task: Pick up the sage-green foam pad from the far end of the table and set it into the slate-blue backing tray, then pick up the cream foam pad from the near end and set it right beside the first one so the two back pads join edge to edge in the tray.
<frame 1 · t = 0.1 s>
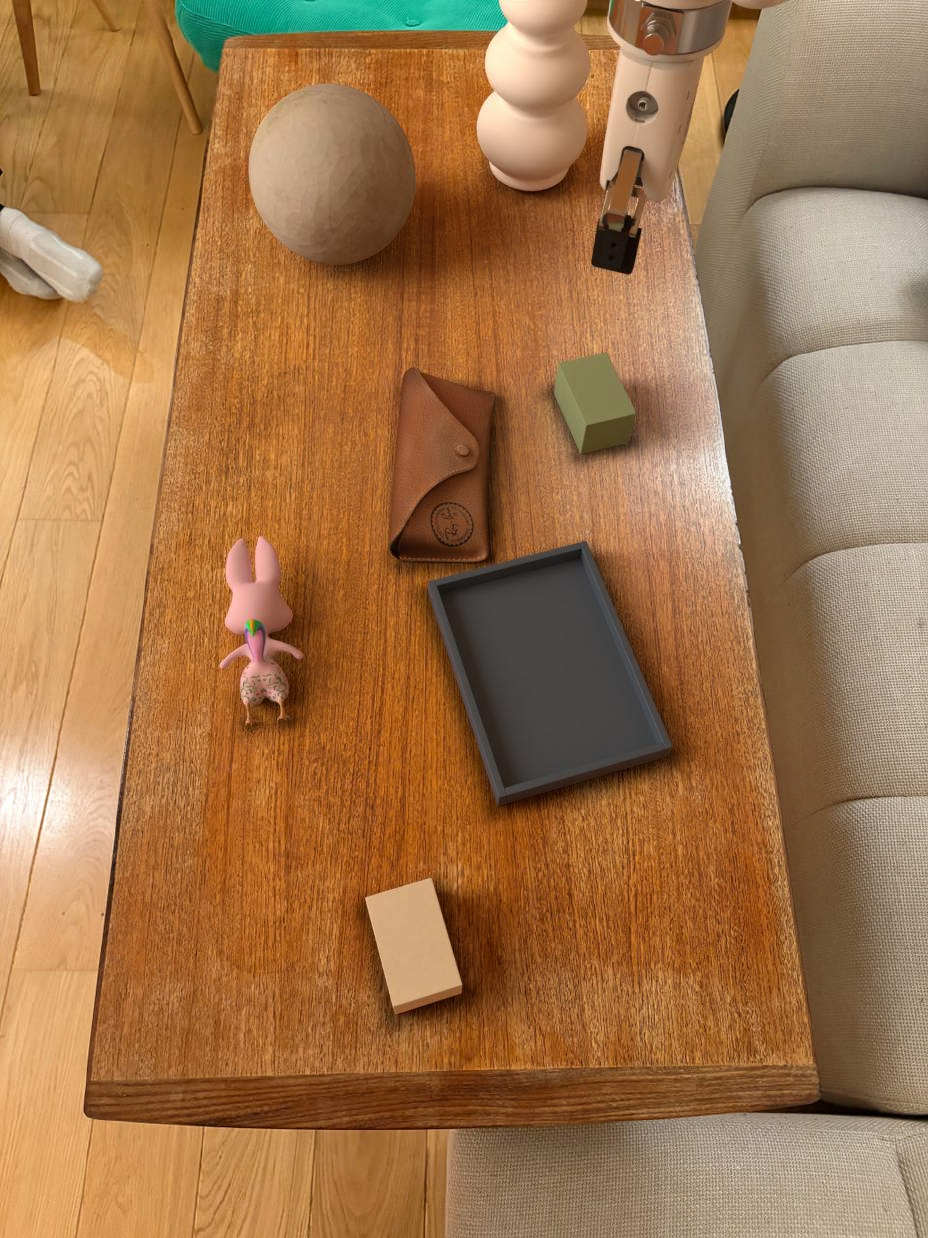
hand: (626, 224, 78), 15 cm above the table, tool pointing down, fingers open, 9 cm apart
sage pad: (590, 417, 89), on the table
vase: (528, 170, 104), on the table
sunglasses case: (444, 473, 86), on the table
decorative sphere: (341, 243, 98), on the table
cream pad: (414, 951, 68), on the table
rabbit figure: (263, 638, 78), on the table
backing tray: (543, 671, 77), on the table
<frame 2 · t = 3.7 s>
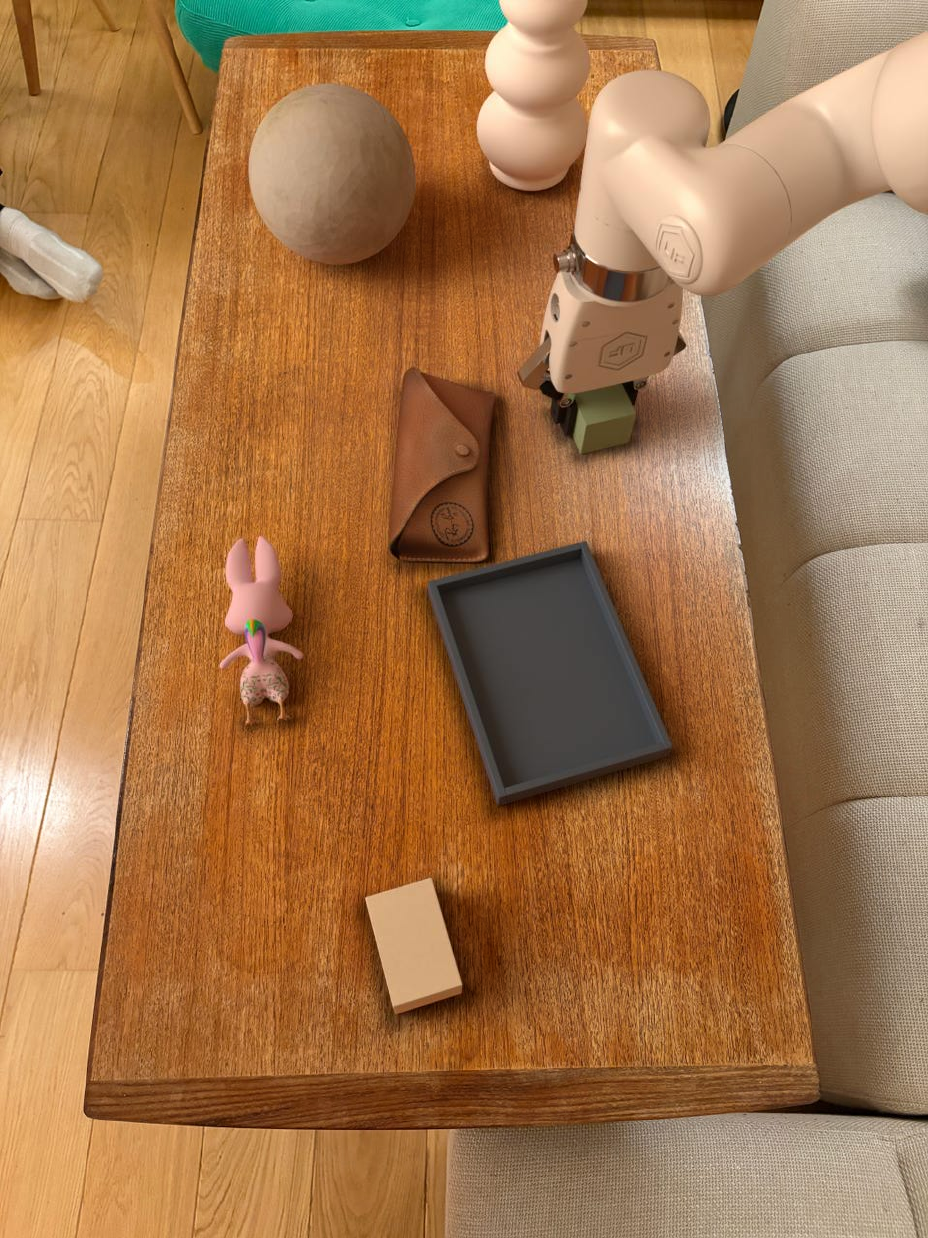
hand: (591, 415, 88), 0 cm above the table, tool pointing down, fingers closed on sage pad, 4 cm apart
sage pad: (590, 417, 89), on the table, touching gripper
everything else where it was.
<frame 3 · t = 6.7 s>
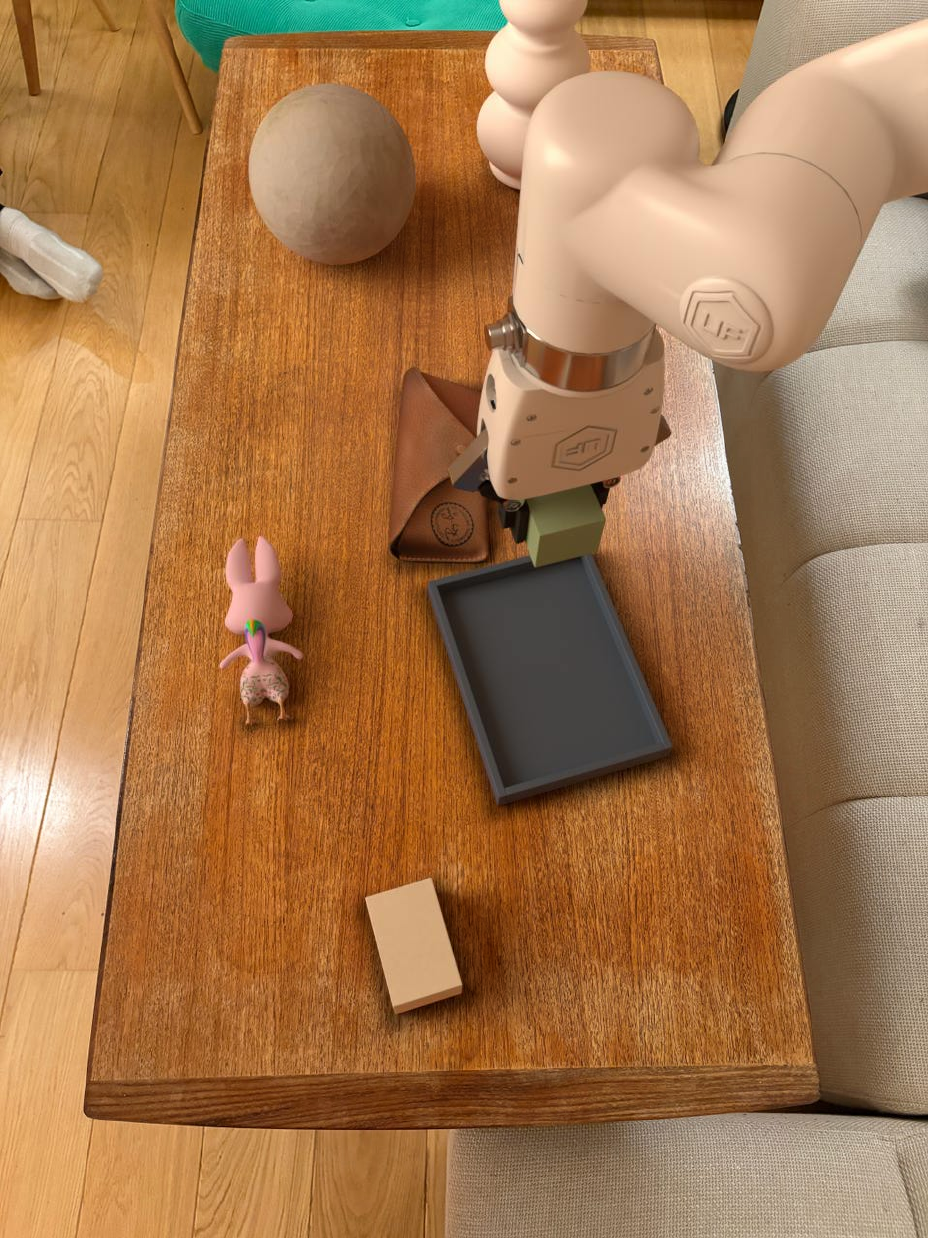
hand: (550, 515, 69), 13 cm above the table, tool pointing down, fingers closed on sage pad, 4 cm apart
sage pad: (549, 517, 69), point 12 cm above the table, touching gripper
everything else where it was.
when the fingers open (1 cm above the table, at t = 9.9 s): sage pad stays where it is, resting on backing tray.
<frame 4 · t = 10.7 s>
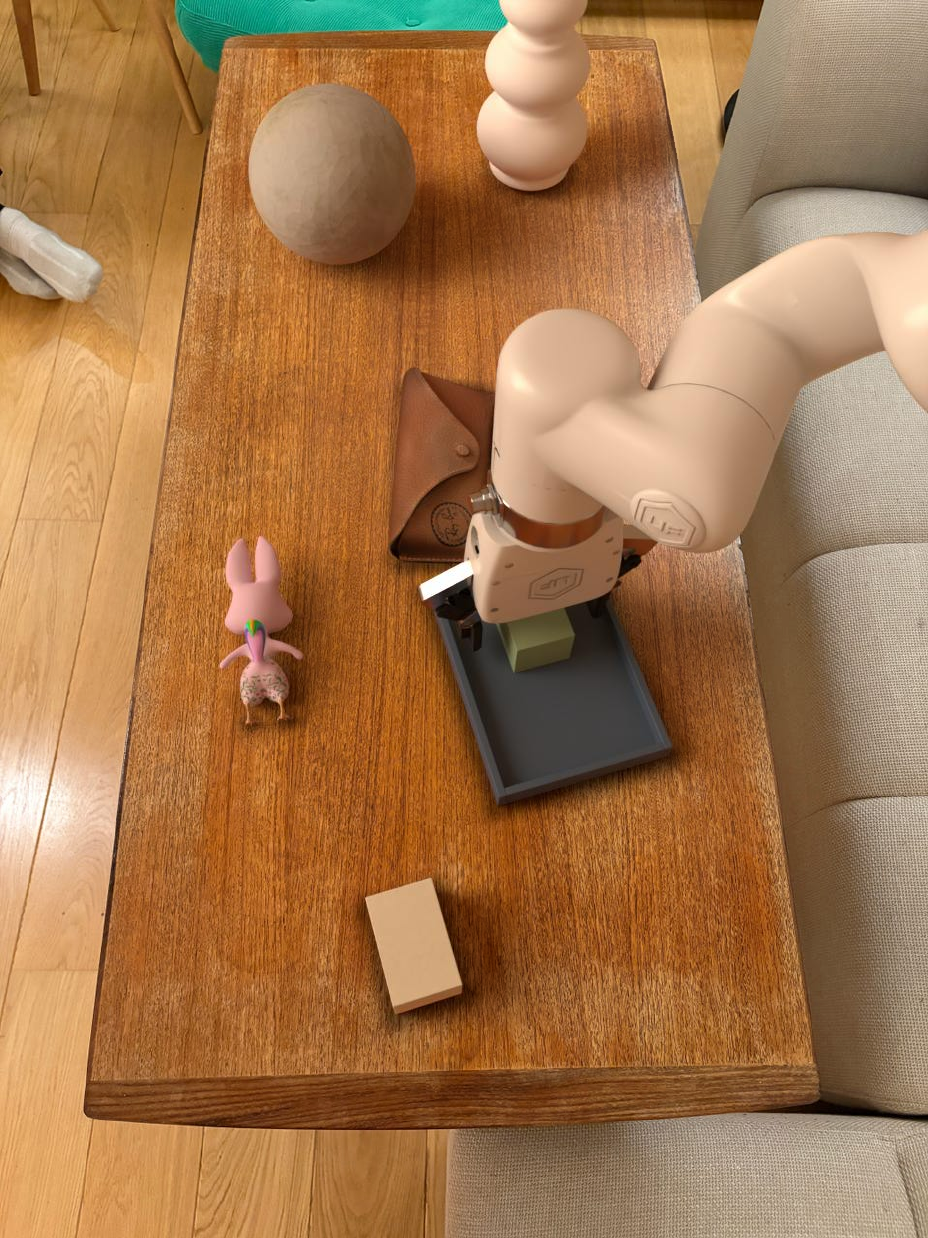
hand: (531, 618, 77), 2 cm above the table, tool pointing down, fingers open, 9 cm apart
sage pad: (527, 626, 78), resting on backing tray
everything else where it was.
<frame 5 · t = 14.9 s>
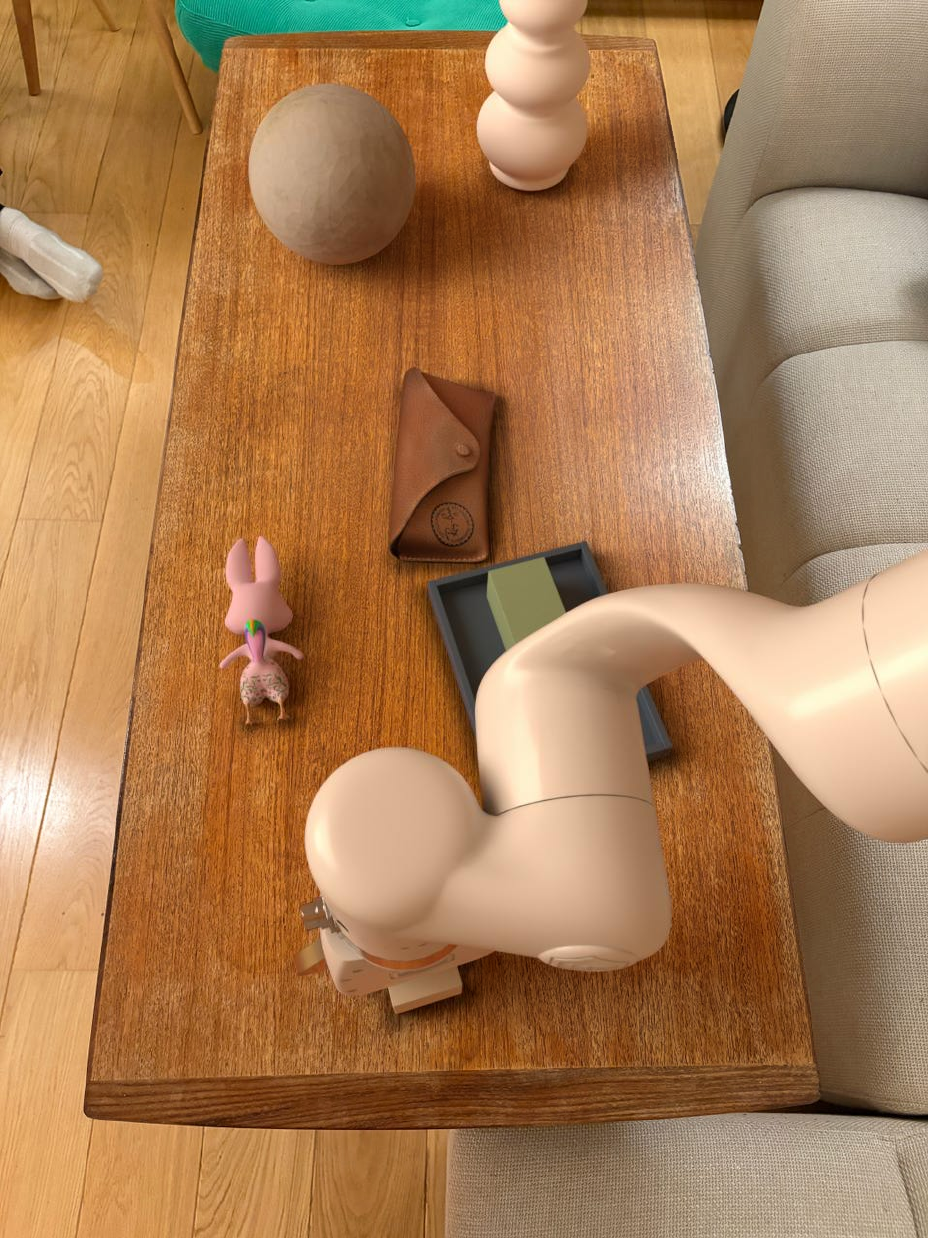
hand: (414, 950, 67), 0 cm above the table, tool pointing down, fingers closed on cream pad, 4 cm apart
cream pad: (414, 951, 68), on the table, touching gripper
everything else where it was.
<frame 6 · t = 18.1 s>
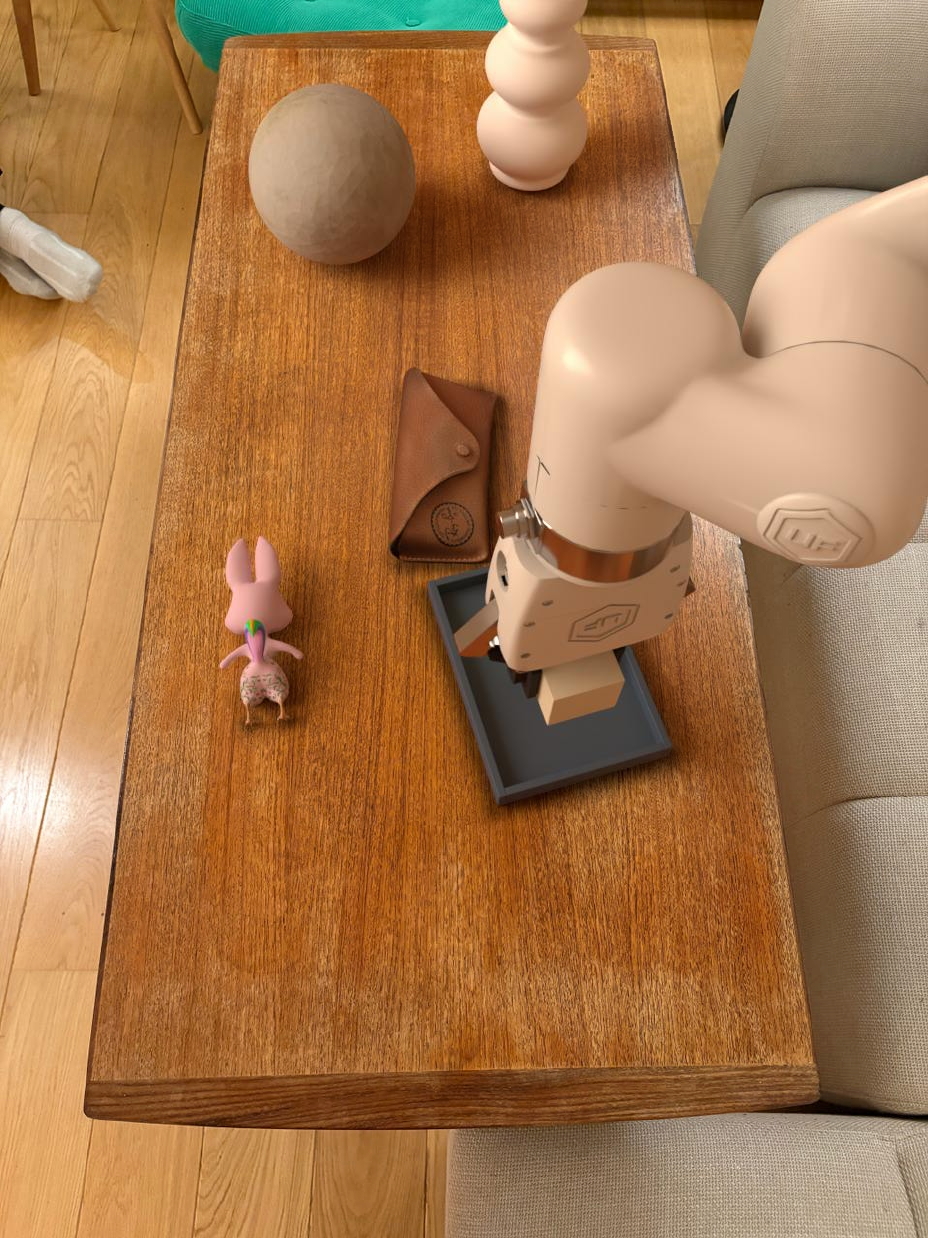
hand: (563, 665, 64), 13 cm above the table, tool pointing down, fingers closed on cream pad, 4 cm apart
cream pad: (562, 667, 64), point 12 cm above the table, touching gripper
everything else where it was.
when the fingers open (1 cm above the table, at t = 21.2 s): cream pad stays where it is, resting on backing tray.
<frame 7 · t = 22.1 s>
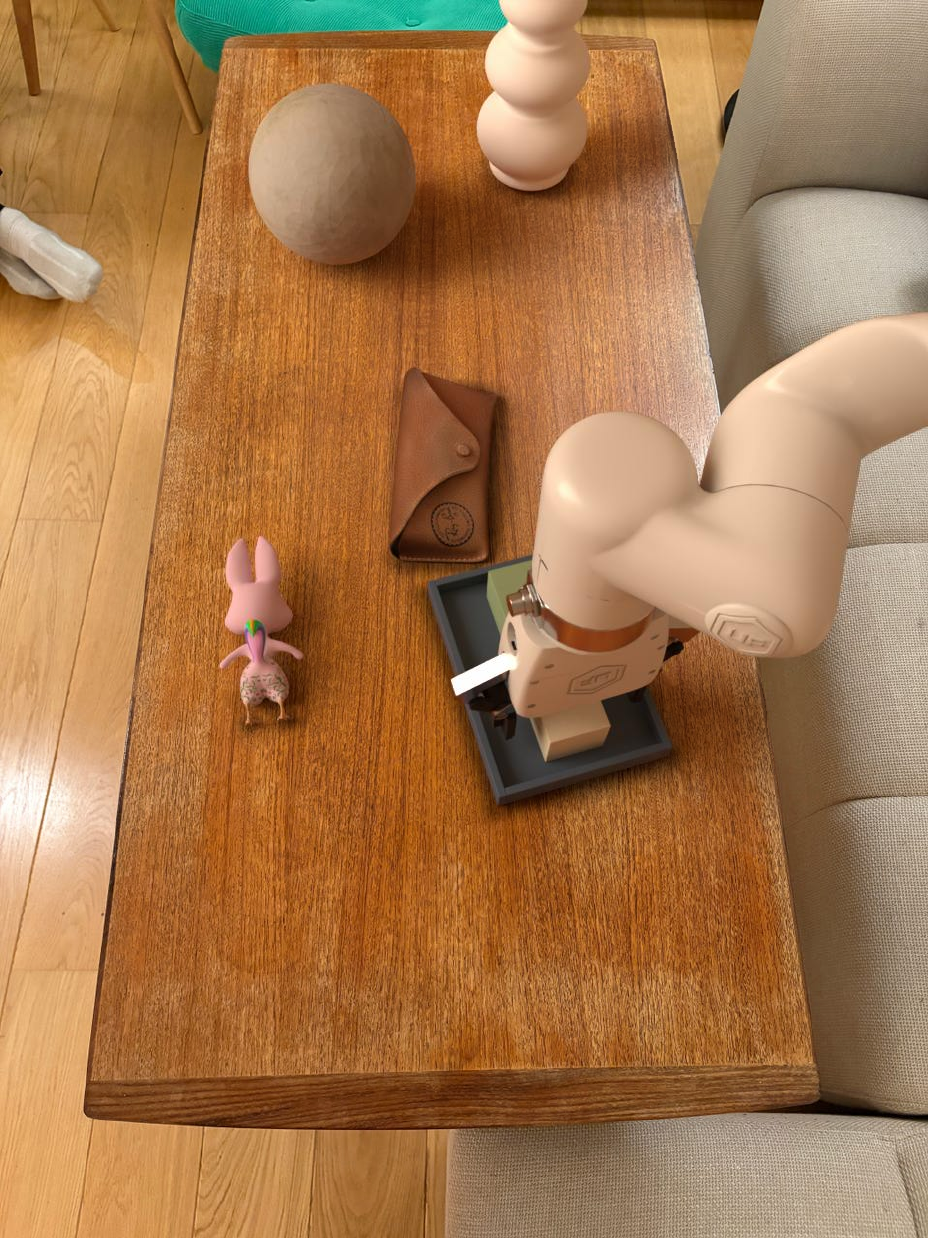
hand: (566, 702, 73), 3 cm above the table, tool pointing down, fingers open, 9 cm apart
cream pad: (558, 711, 75), resting on backing tray
everything else where it was.
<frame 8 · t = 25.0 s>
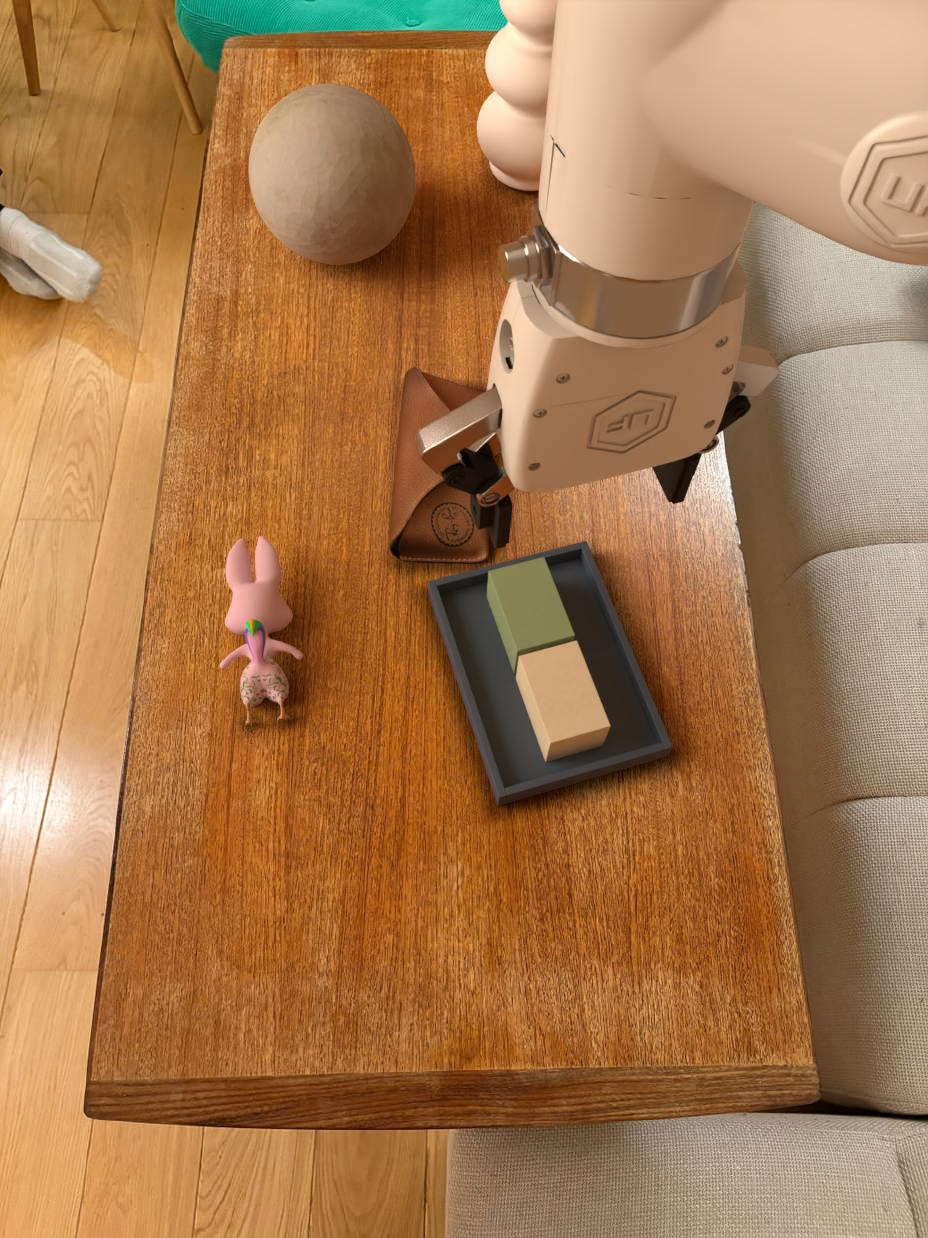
hand: (580, 503, 53), 26 cm above the table, tool pointing down, fingers open, 9 cm apart
nothing on the table moved.
at the end: sage pad inside the target area in the backing tray (0.1 cm from its centre), point 0.5 cm above the backing tray's base; cream pad inside the target area in the backing tray (0.2 cm from its centre), point 0.5 cm above the backing tray's base; cream pad 7.4 cm from the sage pad (horizontally) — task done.
